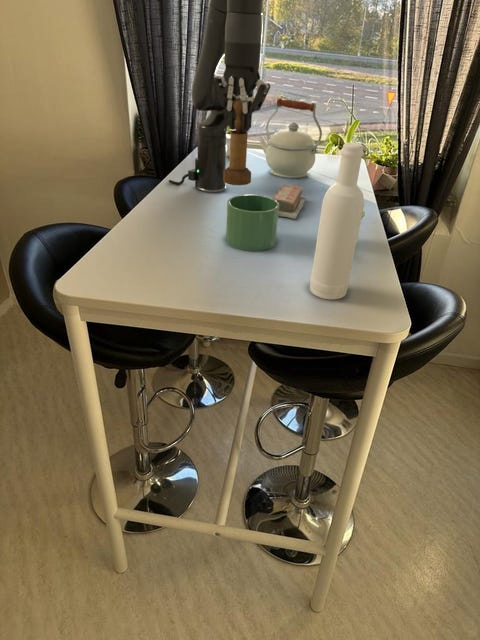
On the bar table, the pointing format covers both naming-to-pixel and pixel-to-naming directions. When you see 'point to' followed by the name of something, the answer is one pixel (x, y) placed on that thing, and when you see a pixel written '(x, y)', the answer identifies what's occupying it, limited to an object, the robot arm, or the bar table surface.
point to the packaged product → (289, 201)
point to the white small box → (228, 146)
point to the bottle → (339, 228)
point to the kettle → (291, 145)
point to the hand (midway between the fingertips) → (239, 129)
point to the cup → (252, 222)
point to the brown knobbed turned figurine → (237, 152)
